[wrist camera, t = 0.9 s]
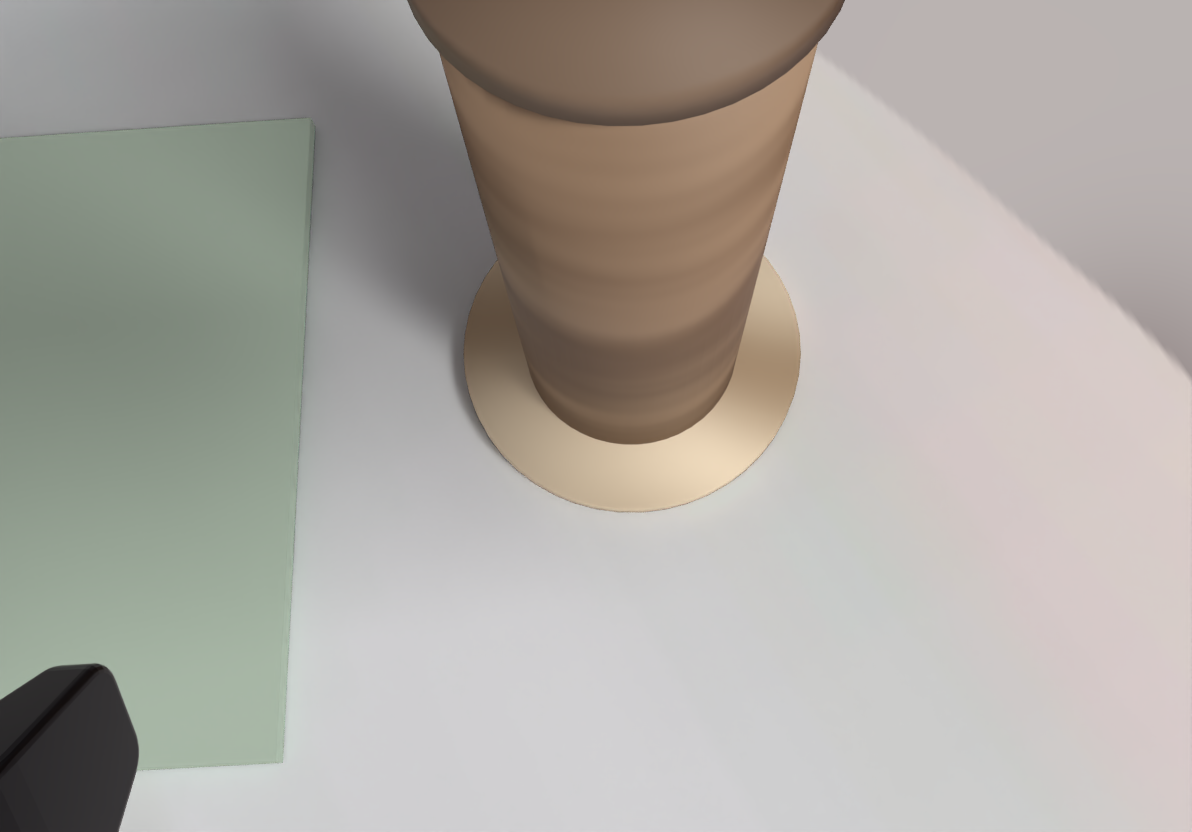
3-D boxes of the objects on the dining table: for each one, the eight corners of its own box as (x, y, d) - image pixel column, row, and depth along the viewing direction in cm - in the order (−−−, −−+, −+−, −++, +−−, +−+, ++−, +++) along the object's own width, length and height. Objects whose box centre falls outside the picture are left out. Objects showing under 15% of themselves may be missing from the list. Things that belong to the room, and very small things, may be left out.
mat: (283, 762, 21) (276, 762, 20) (-359, 796, 21) (-377, 797, 21) (315, 126, 26) (310, 117, 26) (-201, 161, 26) (-213, 152, 26)
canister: (756, 445, 22) (904, 72, 10) (520, 459, 22) (380, 107, 10) (733, 236, 24) (836, -300, 12) (515, 250, 24) (389, -268, 12)
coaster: (817, 502, 22) (820, 497, 22) (467, 522, 22) (464, 518, 22) (778, 195, 25) (780, 187, 24) (465, 215, 25) (462, 207, 25)
